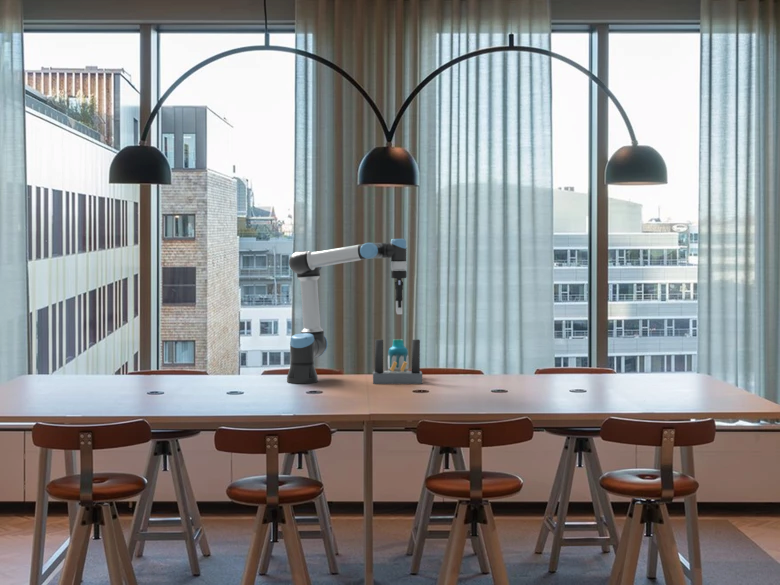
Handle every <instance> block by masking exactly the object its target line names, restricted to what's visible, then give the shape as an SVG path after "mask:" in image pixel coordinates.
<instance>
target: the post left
mask: <svg viewBox="0 0 780 585" xmlns="http://www.w3.org/2000/svg"><path fill="white" fill-rule="evenodd" d="M374 340H375V341H374V371H375V372H376V373H383V371H384V339H374Z"/></svg>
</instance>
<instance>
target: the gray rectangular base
mask: <svg viewBox="0 0 780 585" xmlns="http://www.w3.org/2000/svg"><path fill="white" fill-rule="evenodd" d="M372 384H373V385H378V384H379V385H380V384H381V385H390V384H392V385H394V384H395V385H397V384H398V385H399V384H400V385H401V384H403V385H404V384H406V385H408V384H410V385H411V384H413V385H414V384H415V385H417V384H418V385H419V384H423V372H422V370H420V372H419V373H413V372H412V370H408V371H389V370H383V373H376V372H375V370H372Z"/></svg>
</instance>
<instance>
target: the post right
mask: <svg viewBox="0 0 780 585" xmlns="http://www.w3.org/2000/svg"><path fill="white" fill-rule="evenodd" d="M420 343H421V339H414V338H413V339H411V371H412V372H413V373H419V372H420V371H421V370H420V368H421V366H420V365H421V364H420V362H421V352H420V351H421V349H420V348H421V346H420V345H421V344H420Z"/></svg>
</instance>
